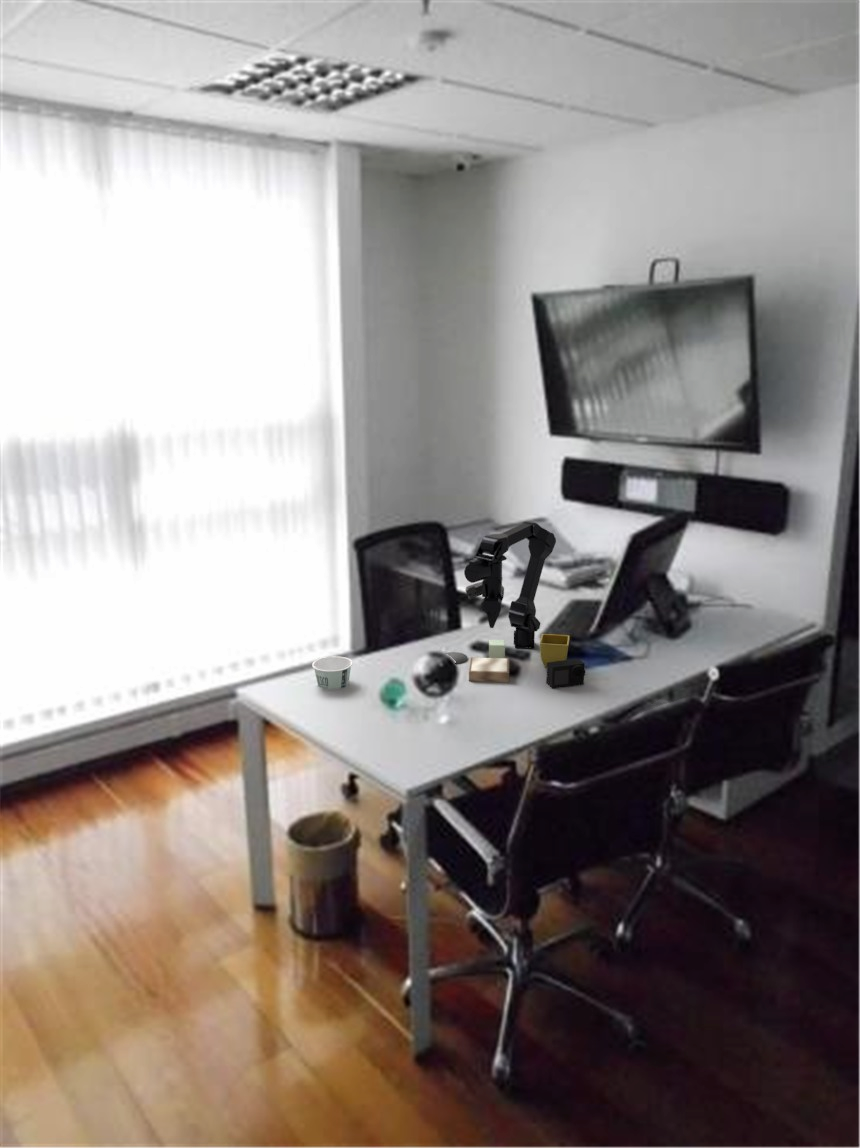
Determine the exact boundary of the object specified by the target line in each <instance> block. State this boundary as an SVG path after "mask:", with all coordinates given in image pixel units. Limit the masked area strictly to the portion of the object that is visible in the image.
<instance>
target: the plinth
mask: <svg viewBox="0 0 860 1148" xmlns="http://www.w3.org/2000/svg"><path fill="white" fill-rule="evenodd" d="M468 681H469V682H492V683H509V682H510V658H508V657H505V658H489V657H472V656H471V657H470V661H469V669H468Z"/></svg>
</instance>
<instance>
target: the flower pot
mask: <svg viewBox="0 0 860 1148" xmlns="http://www.w3.org/2000/svg"><path fill="white" fill-rule="evenodd" d="M570 638H571V637H570V635H569V634H568V635H567V634H566V635H565V634H554V633H553V634H551V633H549V634H548V633H542V634H541V638H540V641H539V652H540V659H541V662H542V665H543V666H544V668H546V669H547V662H555V661H563V660H567V658H568V651H569V644H570Z"/></svg>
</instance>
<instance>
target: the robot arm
mask: <svg viewBox="0 0 860 1148" xmlns="http://www.w3.org/2000/svg"><path fill="white" fill-rule="evenodd" d="M525 539H527V541H528V545H527V547H528V551H529V553H530V555H529V560H528V562H527V567H526V571H525V573H524V579H523V582H522V585H521V589H520V593H519V597H518V598H517V599H515V600H511V602H510V607H509V610H508V612H507V614H508V619H509V623H510V627H512V628H515V629H514V630H513V645H514V648H515V649H535V648H536V646H535V645H536V644H535V634H536V633H535V632H538V630H540V628H541V622H540V620H539V619H538V618H537V617H536V613H537V609H536V605H535V598H536V594H537V590H538V587H539V584H540V580H541V575H542V573H543V568H544V565H545V561H546V559H547V558H548V557H550V555H551V554H552V553H553V551H554V547H555V546H556V542H557V538H556V537H555V534H554V533H553V532H550V531H549V530H548V529H546V528H544V527H542V526H541V525H540V524H538V523H537V522H533V521H528V520H526V521H523V522H522V523H521V524H518V525H517V526H515V527H511V528H510V529H508V530H506V531H503V532H501V533H492V534H491V533H490V534H488V535H484V536H483V537H482V538H481V541H480V542H479V545H478V548H477V549H476V552H475V554H474V556H473V558H474V559H471V560H469V562H468V563H469V564H467V565H466V567H465V569H464V577H465V579H466V580H467V582H468V583H470V585H468V586H466V587H465V593H466V597H468V600H472V599H473V598H476V597H480V596H481V597H482V598H483V599H481V602H480V610H481V611H482V612H484V613H485V615H486V617H487V620H488V625H489V628H490V629H494V628H495V625H496V623H497V620H498V618H499V615H500V613H501V611H502V602H503V600H504V596H505V587H504V586H503V562H504V561H506V560H507V559H508V558H507V557H506V556H505V555H504V554H506V553H507V552H508V551H509V549H510V547H511V546H513V545H516V544H518V543H519V542H521V541H523V540H525ZM480 581H481V582H480Z"/></svg>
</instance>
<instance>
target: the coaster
mask: <svg viewBox="0 0 860 1148" xmlns="http://www.w3.org/2000/svg"><path fill="white" fill-rule="evenodd" d="M444 653H445V654H448V655H449V656H451V657H452V658H453V659H454V660H455V661H456V663H457V664H456V665H458V664H463V663H465V662H467V661H468V656H467V654H465V653H462V652H457V651H450V652H444Z"/></svg>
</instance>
